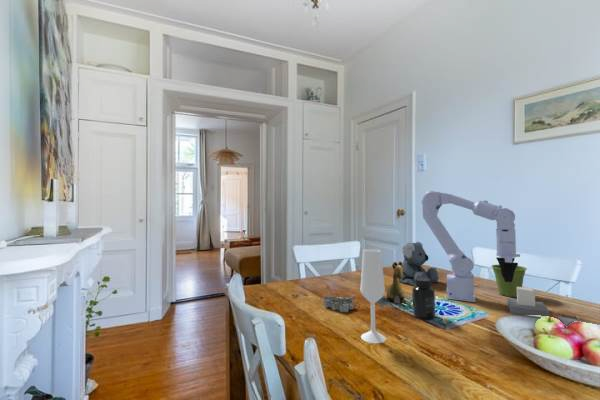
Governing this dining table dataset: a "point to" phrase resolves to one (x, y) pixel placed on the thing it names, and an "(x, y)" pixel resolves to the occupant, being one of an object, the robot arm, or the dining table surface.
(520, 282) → the plant pot
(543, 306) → the slate slab
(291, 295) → the dining table surface
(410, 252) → the koala plush
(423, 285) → the supplement bottle
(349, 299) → the egg carton
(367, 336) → the champagne flute
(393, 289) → the stuffed giraffe
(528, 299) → the cream block
